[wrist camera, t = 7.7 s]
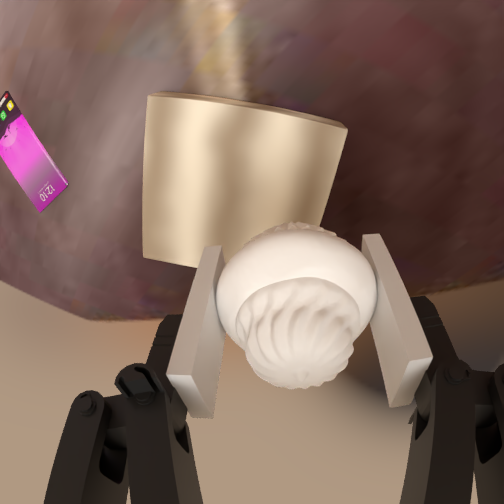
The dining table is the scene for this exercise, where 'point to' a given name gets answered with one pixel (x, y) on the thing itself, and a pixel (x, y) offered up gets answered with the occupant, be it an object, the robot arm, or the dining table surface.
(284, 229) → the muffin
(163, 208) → the beige satin panel
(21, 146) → the smartphone
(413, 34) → the dining table surface
